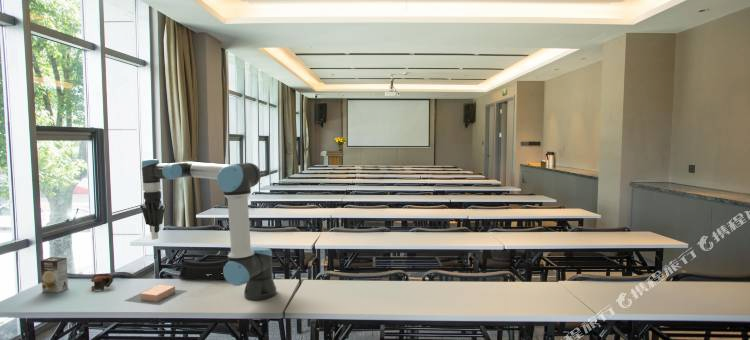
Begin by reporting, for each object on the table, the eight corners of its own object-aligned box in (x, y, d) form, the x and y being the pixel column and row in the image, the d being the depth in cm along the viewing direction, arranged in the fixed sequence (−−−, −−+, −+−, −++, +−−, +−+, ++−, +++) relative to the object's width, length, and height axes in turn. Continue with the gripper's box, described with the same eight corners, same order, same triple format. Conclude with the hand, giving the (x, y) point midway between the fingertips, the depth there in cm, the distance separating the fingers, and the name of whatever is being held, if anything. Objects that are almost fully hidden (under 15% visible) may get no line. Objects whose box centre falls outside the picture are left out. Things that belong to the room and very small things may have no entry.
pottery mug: (84, 292, 210) (86, 275, 213) (100, 294, 218) (101, 278, 221) (105, 287, 208) (107, 270, 211) (120, 289, 216) (121, 273, 220)
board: (159, 290, 209) (175, 292, 206) (140, 299, 197) (156, 301, 195) (159, 284, 208) (174, 286, 206) (140, 293, 197) (156, 295, 194)
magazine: (173, 263, 225) (226, 247, 224) (176, 261, 229) (228, 246, 227) (184, 293, 227) (236, 277, 226) (187, 290, 230) (238, 275, 229)
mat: (187, 292, 208) (187, 290, 208) (160, 306, 191) (160, 305, 191) (153, 288, 213) (153, 287, 213) (124, 302, 196) (124, 300, 196)
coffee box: (41, 292, 208) (39, 260, 207) (52, 287, 215) (50, 256, 213) (58, 292, 207) (56, 261, 206) (69, 288, 214) (67, 257, 212)
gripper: (169, 190, 206) (171, 237, 208) (146, 189, 209) (149, 236, 211) (158, 192, 199) (161, 241, 201) (134, 191, 202) (137, 240, 203)
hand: (155, 238), depth 206 cm, fingers closed
